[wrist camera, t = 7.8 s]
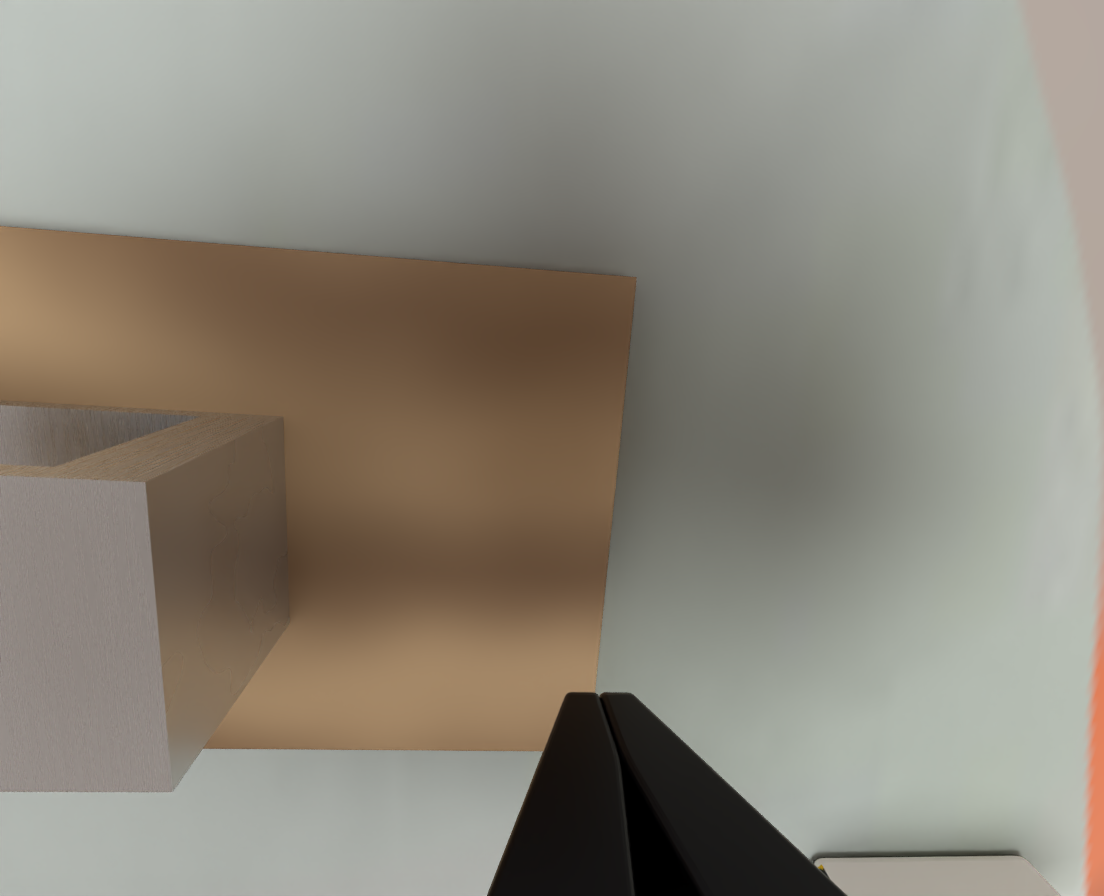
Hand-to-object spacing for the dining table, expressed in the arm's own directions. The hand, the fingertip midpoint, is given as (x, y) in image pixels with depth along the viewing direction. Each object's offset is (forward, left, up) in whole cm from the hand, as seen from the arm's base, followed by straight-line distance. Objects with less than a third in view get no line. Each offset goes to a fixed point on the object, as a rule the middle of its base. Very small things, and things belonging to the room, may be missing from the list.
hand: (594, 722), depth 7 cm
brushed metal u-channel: (0, +6, -4) cm, 7 cm away
